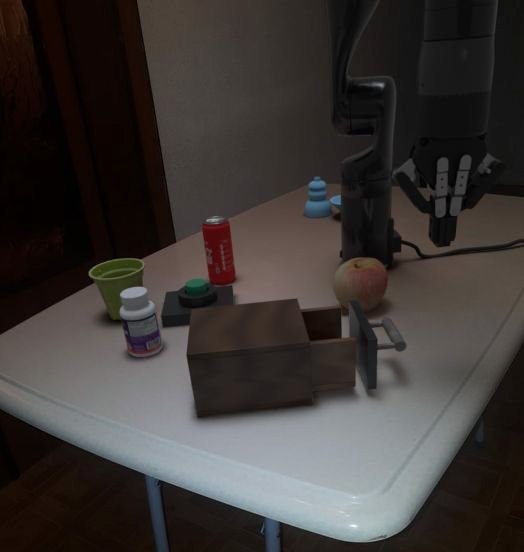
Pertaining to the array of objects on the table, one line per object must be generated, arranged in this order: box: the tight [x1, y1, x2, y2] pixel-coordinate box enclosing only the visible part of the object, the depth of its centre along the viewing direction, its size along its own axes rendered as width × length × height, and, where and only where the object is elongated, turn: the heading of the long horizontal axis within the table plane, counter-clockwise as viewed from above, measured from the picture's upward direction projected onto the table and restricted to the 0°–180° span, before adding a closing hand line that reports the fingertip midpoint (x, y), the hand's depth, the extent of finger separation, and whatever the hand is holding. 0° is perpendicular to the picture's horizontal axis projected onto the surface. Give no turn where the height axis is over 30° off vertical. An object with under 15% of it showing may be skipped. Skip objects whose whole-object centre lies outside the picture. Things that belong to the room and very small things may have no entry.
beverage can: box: [201, 215, 236, 286], centre depth 105 cm, size 5×5×12 cm
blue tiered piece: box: [304, 176, 341, 219], centre depth 137 cm, size 18×10×9 cm, turn 56°
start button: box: [184, 278, 208, 295], centre depth 95 cm, size 4×4×2 cm
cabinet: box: [185, 297, 314, 418], centre depth 73 cm, size 15×13×9 cm
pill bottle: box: [120, 286, 164, 358], centre depth 84 cm, size 5×5×10 cm
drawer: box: [300, 300, 408, 392], centre depth 73 cm, size 18×11×7 cm, turn 94°
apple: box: [332, 258, 389, 313], centre depth 91 cm, size 9×9×8 cm
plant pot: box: [88, 257, 146, 321], centre depth 96 cm, size 9×9×9 cm
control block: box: [160, 282, 235, 328], centre depth 96 cm, size 12×10×4 cm
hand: (441, 244), depth 67 cm, fingers closed
